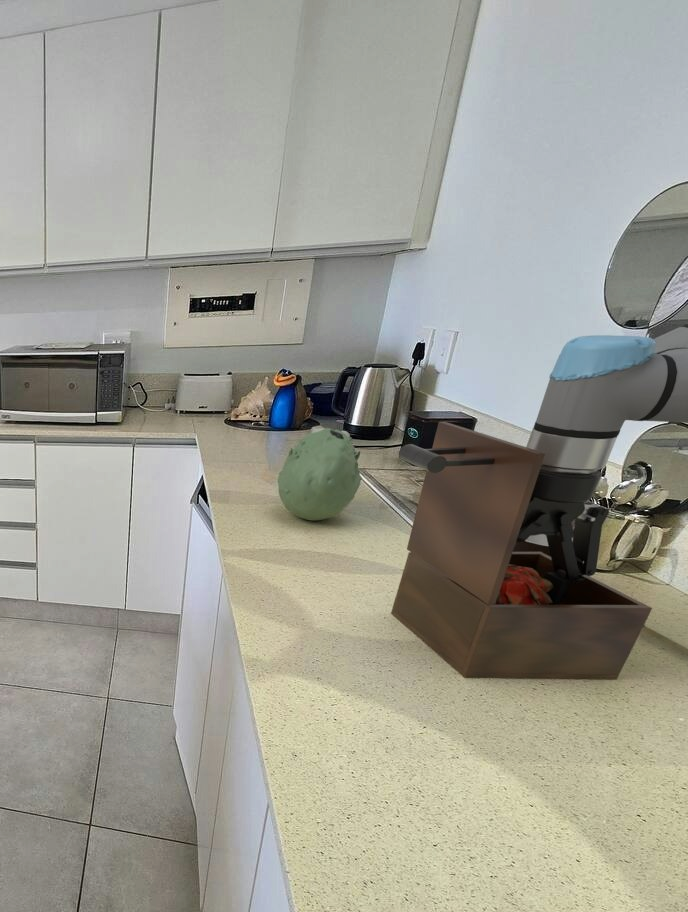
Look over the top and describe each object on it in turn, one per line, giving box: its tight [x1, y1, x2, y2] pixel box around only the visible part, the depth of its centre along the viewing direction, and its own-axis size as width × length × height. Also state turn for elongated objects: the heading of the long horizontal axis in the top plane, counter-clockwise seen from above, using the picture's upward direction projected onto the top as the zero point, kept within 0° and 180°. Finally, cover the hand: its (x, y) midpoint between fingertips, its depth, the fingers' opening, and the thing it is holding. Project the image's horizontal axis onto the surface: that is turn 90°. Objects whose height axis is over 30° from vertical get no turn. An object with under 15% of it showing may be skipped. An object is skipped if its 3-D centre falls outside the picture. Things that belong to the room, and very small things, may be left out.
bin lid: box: [398, 421, 545, 604], centre depth 76 cm, size 20×17×9 cm
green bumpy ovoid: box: [277, 425, 363, 521], centre depth 125 cm, size 16×19×20 cm
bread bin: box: [390, 551, 653, 680], centre depth 81 cm, size 19×17×11 cm
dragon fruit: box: [492, 564, 553, 605], centre depth 81 cm, size 8×8×12 cm
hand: (502, 617), depth 82 cm, fingers closed on dragon fruit, 9 cm apart
